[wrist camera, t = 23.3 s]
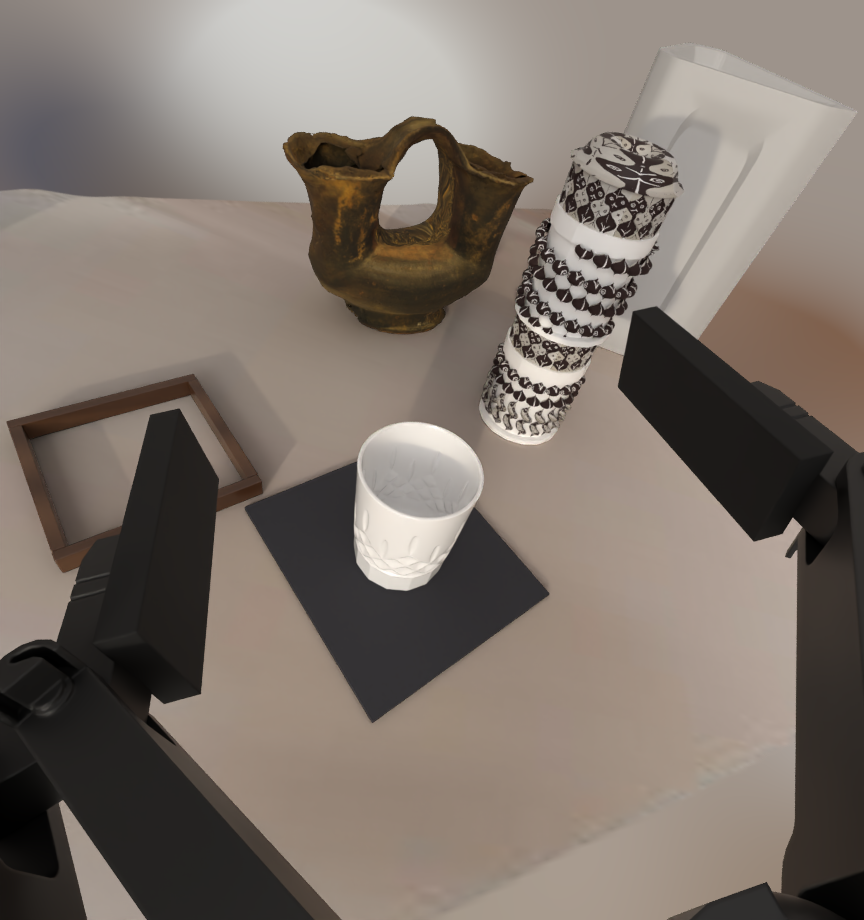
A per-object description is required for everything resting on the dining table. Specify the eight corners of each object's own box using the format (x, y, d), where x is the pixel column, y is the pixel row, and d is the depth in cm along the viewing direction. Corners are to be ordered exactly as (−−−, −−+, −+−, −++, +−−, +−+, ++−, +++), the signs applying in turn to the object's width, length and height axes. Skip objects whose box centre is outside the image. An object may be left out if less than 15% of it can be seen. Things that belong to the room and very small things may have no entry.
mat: (244, 509, 39) (244, 506, 39) (413, 440, 47) (414, 438, 47) (372, 723, 31) (372, 721, 31) (548, 595, 39) (549, 593, 39)
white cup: (460, 592, 38) (500, 514, 30) (353, 606, 35) (368, 525, 28) (435, 504, 42) (465, 419, 35) (339, 512, 40) (349, 422, 33)
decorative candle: (578, 424, 53) (727, 167, 35) (524, 462, 48) (666, 184, 30) (513, 374, 57) (618, 117, 38) (457, 404, 52) (546, 123, 33)
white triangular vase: (519, 281, 71) (611, 24, 50) (606, 282, 76) (722, 49, 55) (586, 371, 60) (738, 89, 39) (682, 365, 65) (862, 112, 44)
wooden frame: (14, 435, 39) (5, 421, 38) (196, 387, 46) (193, 373, 45) (62, 573, 33) (54, 561, 32) (263, 493, 40) (262, 481, 39)
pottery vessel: (303, 353, 52) (305, 135, 37) (274, 293, 58) (266, 85, 43) (504, 327, 63) (568, 149, 48) (463, 279, 68) (508, 107, 54)
